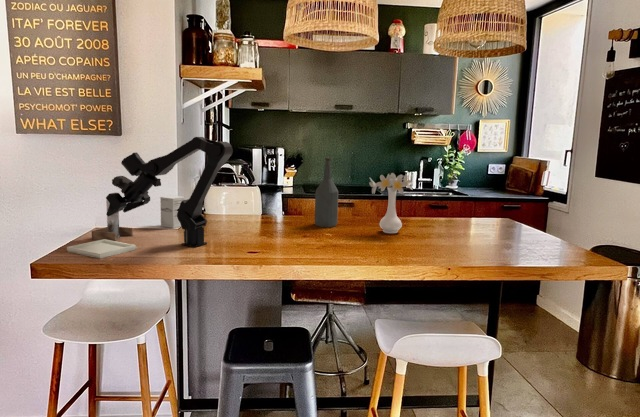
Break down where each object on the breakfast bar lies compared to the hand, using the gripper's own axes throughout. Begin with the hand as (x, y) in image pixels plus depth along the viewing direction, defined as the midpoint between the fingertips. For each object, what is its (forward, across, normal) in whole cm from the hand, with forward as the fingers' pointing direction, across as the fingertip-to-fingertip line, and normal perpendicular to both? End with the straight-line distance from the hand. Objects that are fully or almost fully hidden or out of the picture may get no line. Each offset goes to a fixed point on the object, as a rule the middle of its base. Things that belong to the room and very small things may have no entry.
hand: (115, 213), depth 173 cm
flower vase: (-62, -48, +74) cm, 108 cm away
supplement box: (+1, -27, +12) cm, 29 cm away
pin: (+7, 0, +6) cm, 9 cm away
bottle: (-42, -53, +54) cm, 86 cm away
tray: (+1, +18, +12) cm, 21 cm away
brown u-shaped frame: (+7, 0, +6) cm, 9 cm away
